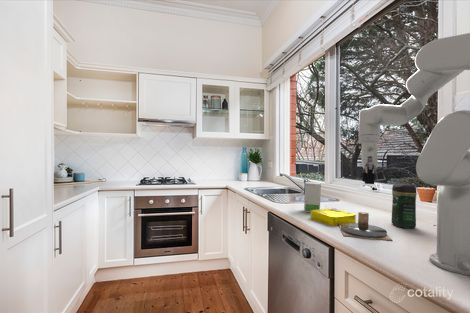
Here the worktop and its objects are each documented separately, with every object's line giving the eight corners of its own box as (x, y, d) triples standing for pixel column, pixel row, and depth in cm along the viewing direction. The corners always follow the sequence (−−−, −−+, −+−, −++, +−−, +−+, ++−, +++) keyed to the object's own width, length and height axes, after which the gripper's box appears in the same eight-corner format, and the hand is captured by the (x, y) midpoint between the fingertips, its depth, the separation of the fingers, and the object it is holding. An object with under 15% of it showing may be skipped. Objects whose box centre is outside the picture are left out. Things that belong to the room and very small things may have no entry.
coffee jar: (419, 229, 105) (420, 185, 105) (398, 228, 106) (399, 184, 106) (407, 223, 114) (408, 182, 115) (388, 222, 116) (389, 182, 116)
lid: (392, 239, 90) (392, 219, 90) (343, 235, 94) (344, 215, 94) (380, 228, 105) (380, 210, 105) (339, 224, 110) (339, 207, 110)
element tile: (308, 218, 122) (309, 209, 122) (332, 216, 128) (333, 207, 128) (332, 227, 108) (332, 215, 108) (357, 224, 114) (357, 213, 114)
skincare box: (303, 212, 135) (304, 182, 135) (304, 209, 141) (304, 181, 141) (320, 213, 132) (321, 183, 132) (320, 211, 139) (320, 182, 139)
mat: (392, 241, 90) (392, 239, 90) (343, 236, 94) (343, 235, 94) (380, 228, 105) (380, 228, 105) (339, 225, 110) (339, 224, 110)
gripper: (383, 138, 92) (382, 185, 92) (376, 141, 108) (375, 181, 108) (360, 138, 94) (359, 184, 94) (357, 141, 110) (356, 180, 111)
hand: (368, 182), depth 101 cm, fingers open, 9 cm apart
